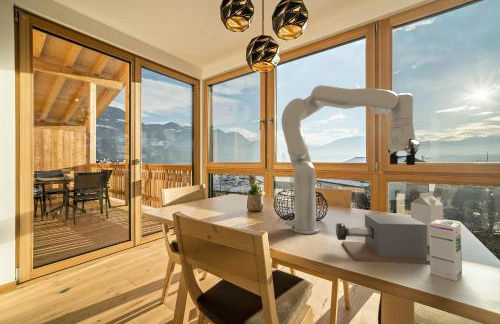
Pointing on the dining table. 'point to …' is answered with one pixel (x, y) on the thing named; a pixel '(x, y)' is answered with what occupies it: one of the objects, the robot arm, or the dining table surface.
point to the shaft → (352, 231)
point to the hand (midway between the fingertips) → (401, 164)
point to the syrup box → (445, 249)
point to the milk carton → (427, 210)
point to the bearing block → (391, 240)
